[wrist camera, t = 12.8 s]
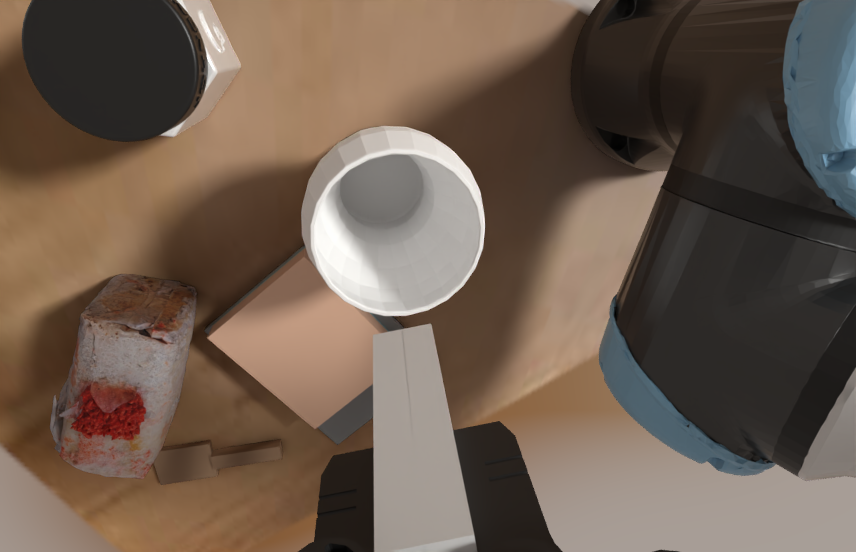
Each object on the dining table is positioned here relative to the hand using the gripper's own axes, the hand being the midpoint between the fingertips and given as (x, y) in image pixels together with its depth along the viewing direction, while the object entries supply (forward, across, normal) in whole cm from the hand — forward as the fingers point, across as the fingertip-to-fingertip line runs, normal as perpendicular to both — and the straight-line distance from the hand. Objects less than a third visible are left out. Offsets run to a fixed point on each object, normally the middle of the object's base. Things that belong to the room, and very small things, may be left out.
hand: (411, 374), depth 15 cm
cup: (+32, -1, -2) cm, 32 cm away
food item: (+30, -23, -12) cm, 40 cm away
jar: (+31, -13, +9) cm, 35 cm away
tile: (+29, -6, -19) cm, 35 cm away
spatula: (+30, -20, -24) cm, 43 cm away
